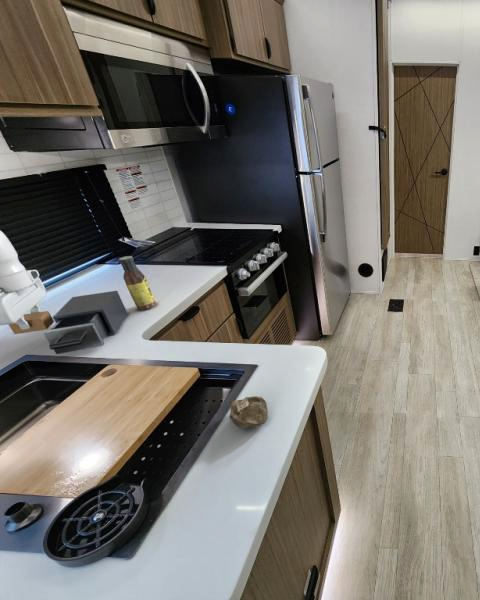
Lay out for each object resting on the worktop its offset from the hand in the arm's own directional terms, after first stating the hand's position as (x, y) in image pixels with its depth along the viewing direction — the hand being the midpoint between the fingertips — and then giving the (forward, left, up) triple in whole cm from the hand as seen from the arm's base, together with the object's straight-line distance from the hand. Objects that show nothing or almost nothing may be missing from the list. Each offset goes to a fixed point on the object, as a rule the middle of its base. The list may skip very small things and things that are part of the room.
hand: (32, 323), depth 102 cm
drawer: (+13, -6, -7) cm, 16 cm away
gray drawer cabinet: (+13, +5, -8) cm, 16 cm away
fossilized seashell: (+60, -59, -8) cm, 84 cm away
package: (0, 0, -2) cm, 2 cm away
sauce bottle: (+24, +16, -8) cm, 30 cm away
